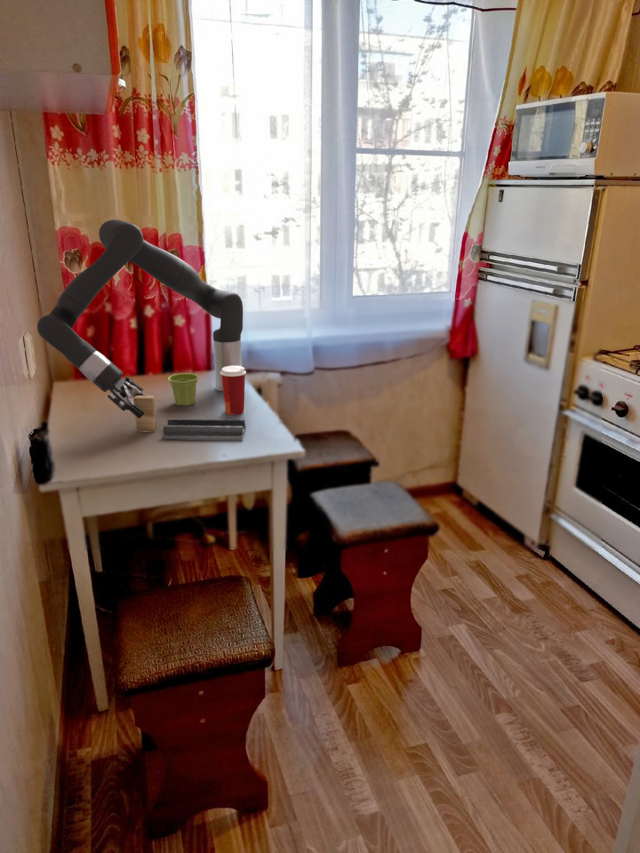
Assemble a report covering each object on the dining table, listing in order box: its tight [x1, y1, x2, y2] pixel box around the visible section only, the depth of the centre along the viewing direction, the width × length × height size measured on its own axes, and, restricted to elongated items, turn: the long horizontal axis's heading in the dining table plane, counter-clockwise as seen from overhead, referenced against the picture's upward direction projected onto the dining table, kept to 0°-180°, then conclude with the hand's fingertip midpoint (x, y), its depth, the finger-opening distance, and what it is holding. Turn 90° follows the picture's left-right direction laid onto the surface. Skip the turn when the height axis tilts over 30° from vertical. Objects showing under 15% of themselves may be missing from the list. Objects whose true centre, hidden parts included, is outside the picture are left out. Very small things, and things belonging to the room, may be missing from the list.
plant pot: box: [167, 372, 199, 407], centre depth 196 cm, size 9×9×9 cm
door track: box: [161, 418, 247, 441], centre depth 172 cm, size 10×22×3 cm, turn 90°
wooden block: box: [133, 395, 158, 432], centre depth 173 cm, size 2×5×10 cm, turn 90°
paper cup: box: [220, 366, 247, 416], centre depth 187 cm, size 8×8×14 cm
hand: (146, 410), depth 173 cm, fingers open, 8 cm apart
